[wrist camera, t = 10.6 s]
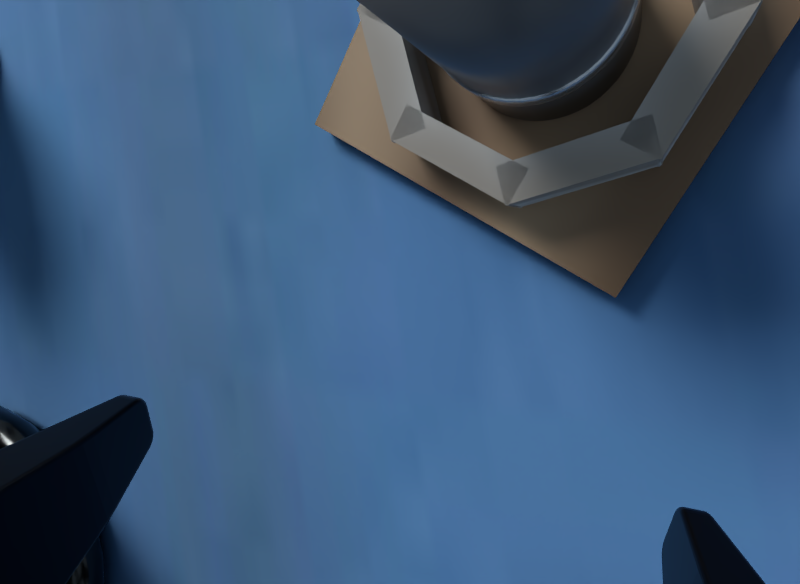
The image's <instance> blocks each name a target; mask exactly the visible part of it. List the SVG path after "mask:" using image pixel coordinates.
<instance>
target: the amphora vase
mask: <svg viewBox="0 0 800 584" xmlns="http://www.w3.org/2000/svg"><path fill="white" fill-rule="evenodd" d="M37 432H40V430H39V429H38V428H37V427H36V426H34V425H33V424H32V423H30V422H29V421H27V420H25V419H23V418H22V417H20V416H18V415H17V414H15V413H13V412H11V411H10V410H8V409H6V408H4V407H2V406H0V449H2V448H4V447H6V446H8V445H11V444H13V443H15V442H17V441H20V440H22V439H24V438H26V437H28V436H31V435H33V434H35V433H37ZM66 584H105V577H104V559H103V551H102V547H101V543H100V539H99V536H98V537H97V539H96V540H95V542H94V543H93V545H92V546H91V548H90V549H89V551H88V552H87V553H86V555H85V556H84V558H83V559H82V561H81V562H80V564H79V565H78V567H77V568H76V569H75V571H74V572H73V574H72V575H71V577H70V578H69V580H68V581H67V583H66Z"/></svg>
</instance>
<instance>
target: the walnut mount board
mask: <svg viewBox="0 0 800 584" xmlns="http://www.w3.org/2000/svg"><path fill="white" fill-rule="evenodd" d="M641 3H642V20H641V28H640V33H639V37H638V41H637V45H636V47H635V50H634V52H633V55H632V57H631V59H630V61H629V63H628V65H627V67H626V68H625V70H624V71H623V73H622V74H621V75H620V77H619V78H618V80H617V81H616V82H615V83H614V84H613V85H612V86H611V88H610V89H609V90H608V91H606V92H605V93H604V94H603V95H602V96H601V97H600V98H598V99H597V100H596V101H594V102H593V103H591V104H590V105H589V106H587V107H585V108H583V109H581V110H579V111H578V112H575V113H573V114H570V115H568V116H565V117H561V118H557V119H553V120H545V121H528V120H521V119H517V118H513V117H510V116H507V115H505V114H503V113H500V112H499V111H497V110H495V109H494V108H492V107H491V106H489V105H488V104H487V103H486V102H484V101H483V100H482V99H480V98H479V97H477V96H476V95H474V94H472V93H471V92H469V91H468V90H466V89H465V88H464V87H462V86H461V85H460V84H459V83H457V82H456V81H455V80H454V79H453V78H452V77H450V76H449V75H448V74H447V72H446V71H445V70H444V69H443V68H441V67H440V66H439V65H438V64H436V63H435V62H434V61H433V60H431V59H430V58H429V57H428V56H426V55H425V54H424V53H423V52H421V51H420V50H419V49H417V48H416V47H415V46H414V45H412V44H411V43H410V42H409V41H407V40H406V39H405V38H404V37H402V36H401V35H400V34H399V33H397V32H396V31H395V30H394V29H392V28H391V27H390V26H388V25H387V24H386V23H385V22H383V21H382V20H381V19H380V18H378V17H377V16H376V15H375V14H373V13H372V12H371V11H370V10H368V9H367V8H366V7H365V6H363V5H362V4H361V3H360V5H359V7H358V8H357V12H358V13H359V17H360V23H359V25H358V27H357V29H356V32H355V34H354V36H353V39H352V41H351V43H350V45H349V48H348V50H347V52H346V54H345V57H344V59H343V61H342V64H341V66H340V68H339V70H338V73H337V75H336V77H335V80H334V82H333V84H332V86H331V89H330V91H329V93H328V95H327V98H326V100H325V102H324V105H323V107H322V109H321V111H320V114H319V116H318V118H317V120H316V123H315V125H317V126H319V127H320V128H322V129H324V130H326V131H327V132H329V133H331V134H332V135H334V136H336V137H338V138H339V139H341V140H343V141H345V142H346V143H348V144H350V145H352V146H353V147H355V148H357V149H358V150H360V151H362V152H364V153H365V154H367V155H369V156H371V157H372V158H374V159H376V160H378V161H379V162H381V163H383V164H384V165H386V166H388V167H390V168H391V169H393V170H395V171H397V172H398V173H400V174H402V175H403V176H405V177H407V178H409V179H410V180H412V181H414V182H416V183H417V184H419V185H421V186H423V187H424V188H426V189H428V190H429V191H431V192H433V193H435V194H436V195H438V196H440V197H442V198H443V199H445V200H447V201H449V202H450V203H452V204H454V205H455V206H457V207H459V208H461V209H462V210H464V211H466V212H468V213H469V214H471V215H473V216H475V217H476V218H478V219H480V220H481V221H483V222H485V223H487V224H488V225H490V226H492V227H494V228H495V229H497V230H499V231H501V232H502V233H504V234H506V235H507V236H509V237H511V238H513V239H514V240H516V241H518V242H520V243H521V244H523V245H525V246H527V247H528V248H530V249H532V250H533V251H535V252H537V253H539V254H540V255H542V256H544V257H546V258H547V259H549V260H551V261H553V262H554V263H556V264H558V265H559V266H561V267H563V268H565V269H566V270H568V271H570V272H572V273H573V274H575V275H577V276H579V277H580V278H582V279H584V280H585V281H587V282H589V283H591V284H592V285H594V286H596V287H598V288H599V289H601V290H603V291H605V292H606V293H608V294H610V295H611V296H613V297H615V298H616V297H617V295H618V294H619V292H620V291H621V289H622V288H623V286H624V285H625V283H626V281H627V280H628V278H629V277H630V275H631V274H632V272H633V271H634V269H635V268H636V266H637V265H638V263H639V262H640V260H641V259H642V257H643V256H644V254H645V253H646V251H647V250H648V248H649V246H650V245H651V243H652V242H653V240H654V239H655V237H656V236H657V234H658V233H659V231H660V230H661V228H662V227H663V225H664V224H665V222H666V221H667V219H668V218H669V216H670V214H671V213H672V211H673V210H674V208H675V207H676V205H677V204H678V202H679V201H680V199H681V198H682V196H683V195H684V193H685V192H686V190H687V189H688V187H689V186H690V184H691V183H692V181H693V179H694V178H695V176H696V175H697V173H698V172H699V170H700V169H701V167H702V166H703V164H704V163H705V161H706V160H707V158H708V157H709V155H710V154H711V152H712V151H713V149H714V147H715V146H716V144H717V143H718V141H719V140H720V138H721V137H722V135H723V134H724V132H725V131H726V129H727V128H728V126H729V125H730V123H731V122H732V120H733V119H734V117H735V116H736V114H737V112H738V111H739V109H740V108H741V106H742V105H743V103H744V102H745V100H746V99H747V97H748V96H749V94H750V93H751V91H752V90H753V88H754V87H755V85H756V84H757V82H758V80H759V79H760V77H761V76H762V74H763V73H764V71H765V70H766V68H767V67H768V65H769V64H770V62H771V61H772V59H773V58H774V56H775V55H776V53H777V52H778V50H779V49H780V47H781V45H782V44H783V42H784V41H785V39H786V38H787V36H788V35H789V33H790V32H791V30H792V29H793V27H794V26H795V24H796V23H797V21H798V20H799V18H800V0H641Z"/></svg>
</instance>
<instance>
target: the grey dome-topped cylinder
mask: <svg viewBox="0 0 800 584" xmlns="http://www.w3.org/2000/svg"><path fill="white" fill-rule="evenodd" d="M357 1H358V2H359V3H361V4H362V5H363V6H365V7H366V8H367V9H368V10H370V11H371V12H372V13H373V14H375V15H376V16H377V17H378V18H380V19H381V20H382V21H383V22H385V23H386V24H387V25H388V26H390V27H391V28H392V29H394V30H395V31H396V32H397V33H399V34H400V35H401V36H402V37H404V38H405V39H406V40H407V41H409V42H410V43H411V44H412V45H414V46H415V47H416V48H417V49H419V50H420V51H421V52H423V53H424V54H425V55H426V56H428V57H429V58H430V59H431V60H433V61H434V62H435V63H436V64H438V65H439V66H440V67H441V68H443V69H444V70H445V71H446V72H447V74H448V75H449V76H450V77H452V78H453V79H454V80H455V81H456V82H457V83H459V84H460V85H461V86H462V87H464V88H465V89H466V90H468V91H469V92H471V93H472V94H474V95H476V96H477V97H479V98H480V99H482V100H483V101H484V102H486V103H487V104H488V105H489V106H491V107H492V108H494V109H495V110H497V111H499V112H500V113H503V114H505V115H507V116H510V117H513V118H517V119H521V120H528V121H545V120H553V119H557V118H561V117H565V116H568V115H570V114H573V113H575V112H578V111H579V110H581V109H583V108H585V107H587V106H589V105H590V104H591V103H593V102H594V101H596V100H597V99H598V98H600V97H601V96H602V95H603V94H604V93H605V92H606V91H608V90H609V89H610V88H611V86H612V85H613V84H614V83H615V82H616V81H617V80H618V78H619V77H620V75H621V74H622V73H623V71H624V70H625V68H626V67H627V65H628V63H629V61H630V59H631V57H632V55H633V52H634V50H635V47H636V45H637V41H638V37H639V33H640V28H641V20H642V3H641V0H357Z"/></svg>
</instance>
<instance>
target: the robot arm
mask: <svg viewBox="0 0 800 584" xmlns="http://www.w3.org/2000/svg"><path fill="white" fill-rule="evenodd" d="M152 440H153V429H152V425H151V421H150V417H149V413H148V409H147V405H146V403H145V401H144V400H143V399H141V398H137V397H132V396H127V395H120V396H117V397H115V398H113V399H110V400H108V401H106V402H104V403H102V404H99V405H97V406H95V407H93V408H91V409H88V410H86V411H84V412H82V413H79V414H77V415H75V416H73V417H71V418H68V419H66V420H64V421H62V422H60V423H57V424H55V425H53V426H51V427H48V428H46V429H44V430H42V431H40V432H37V433H35V434H33V435H31V436H28V437H26V438H24V439H22V440H20V441H17V442H15V443H13V444H11V445H8V446H6V447H4V448H2V449H0V584H66V583H67V581H68V580H69V578H70V577H71V575H72V574H73V572H74V571H75V569H76V568H77V567H78V565H79V564H80V562H81V561H82V559H83V558H84V556H85V555H86V553H87V552H88V551H89V549H90V548H91V546H92V545H93V543H94V542H95V540H96V539H97V537H98V536H99V535H100V533H101V532H102V530H103V529H104V527H105V525H106V524H107V522H108V521H109V519H110V517H111V516H112V514H113V512H114V511H115V509H116V507H117V506H118V504H119V502H120V500H121V498H122V497H123V495H124V493H125V491H126V489H127V488H128V486H129V484H130V482H131V480H132V479H133V477H134V475H135V473H136V471H137V470H138V468H139V466H140V464H141V462H142V461H143V459H144V457H145V455H146V453H147V452H148V450H149V448H150V446H151V443H152ZM662 571H663V584H765V583H764V581H763V580H762V579H761V578H760V576H759V575H758V574H757V572H756V571H755V570H754V569H753V567H752V566H751V565H750V564H749V562H748V561H747V560H746V559H745V557H744V556H743V555H742V554H741V552H740V551H739V550H738V549H737V547H736V546H735V545H734V544H733V542H732V541H731V540H730V538H729V537H728V536H727V535H726V533H725V532H724V531H723V530H722V528H721V527H720V526H719V525H718V523H717V522H716V521H715V520H714V518H713V517H712V516H711V515H710V514H709V513H707V512H705V511H701V510H696V509H691V508H686V507H680V508H678V509H677V510H676V511H675V513H674V516H673V518H672V521H671V524H670V526H669V529H668V532H667V534H666V537H665V539H664V542H663V548H662Z"/></svg>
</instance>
